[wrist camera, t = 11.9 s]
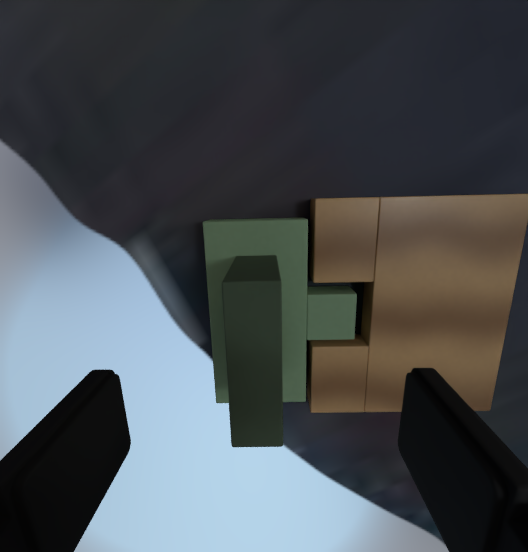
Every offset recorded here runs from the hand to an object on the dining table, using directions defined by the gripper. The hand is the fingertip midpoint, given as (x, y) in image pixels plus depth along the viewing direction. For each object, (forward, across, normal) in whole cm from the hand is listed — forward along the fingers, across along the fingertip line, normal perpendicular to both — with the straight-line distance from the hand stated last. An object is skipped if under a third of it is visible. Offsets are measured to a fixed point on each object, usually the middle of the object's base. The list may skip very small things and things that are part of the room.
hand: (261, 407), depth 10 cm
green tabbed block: (+11, -1, +1) cm, 11 cm away
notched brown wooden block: (+11, -9, +1) cm, 14 cm away
